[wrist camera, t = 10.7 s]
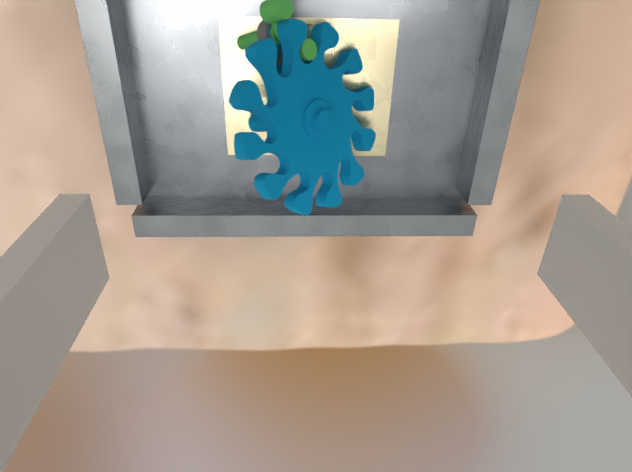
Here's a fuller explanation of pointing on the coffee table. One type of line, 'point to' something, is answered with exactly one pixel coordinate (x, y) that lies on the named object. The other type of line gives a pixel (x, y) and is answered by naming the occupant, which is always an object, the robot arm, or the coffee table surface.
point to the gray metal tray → (224, 121)
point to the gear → (301, 109)
